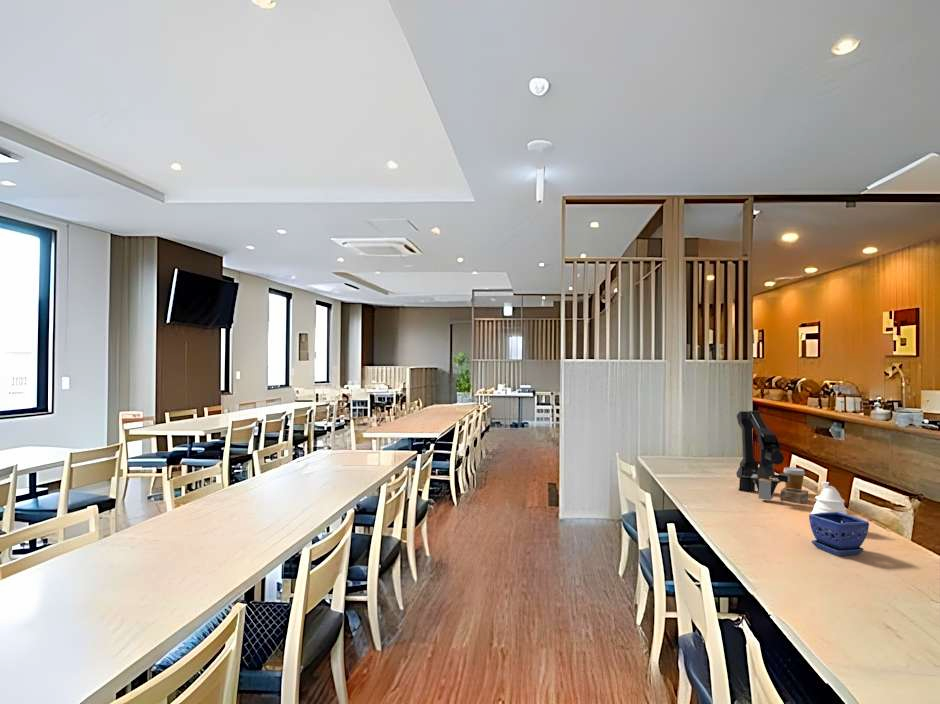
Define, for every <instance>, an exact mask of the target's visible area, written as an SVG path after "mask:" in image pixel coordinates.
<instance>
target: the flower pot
mask: <svg viewBox="0 0 940 704" xmlns="http://www.w3.org/2000/svg"><path fill="white" fill-rule="evenodd" d="M808 518H809V519H808V520H809V525H810V529H811V532H812V534H813V537H814V538H815V540H811V543H812V545H813V546H814V547H816V548H817V549H820V550H822V551H824V552H827V553H829V554H832V555H834V556H839V557H840V556H841V557H842V556H853V555H859V554H861V553H863V551H864V549H865V548H863V547H861V546H862V545H863V543H864V541H865V540H866V537H867V534H868V532H869V529H870V528H869V526H870V523H869V521H867V520H865V519H861V518H858V517H856V516H853V515H850V514H847V515H846V514H843V513H840V512H827V513H816V514H811V513H810V514H809V515H808ZM841 521H842V523H841Z"/></svg>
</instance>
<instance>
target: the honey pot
mask: <svg viewBox="0 0 940 704" xmlns="http://www.w3.org/2000/svg"><path fill="white" fill-rule="evenodd" d="M821 486H823V487H824V488H823V490H822V491H821V493H820V494H819V495H816V496H815V500H816V502H815V503H814V506H813V509H812V510H811V512H810V514H816V513H827V512H840V513H843V514H846V515H848V511H847V508H846V507H845V499H844V498H842V496H841V494H840V492H839V491H838V490H837V489H836V487H834V486H833V485H830V482H829V481H824V480H823V481H821ZM841 523H842V521H841Z"/></svg>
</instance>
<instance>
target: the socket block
mask: <svg viewBox="0 0 940 704" xmlns="http://www.w3.org/2000/svg"><path fill="white" fill-rule="evenodd" d="M780 501H781V502H782V501H783V502H788V503H793V504H794V503H795V504H800V505H805V504H807V502H808V501H809V490H805V489H801V490H800V489H793V488H786V486H784V487H783V488H782V489H781V490H780Z"/></svg>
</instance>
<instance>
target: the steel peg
mask: <svg viewBox="0 0 940 704" xmlns="http://www.w3.org/2000/svg"><path fill="white" fill-rule="evenodd" d="M773 480H774V478H769V479H765V478H760V479H759V492H758V499H761V500H768V501H771V500H773V498H774V494H773V495H771V491H772V485H773Z"/></svg>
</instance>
